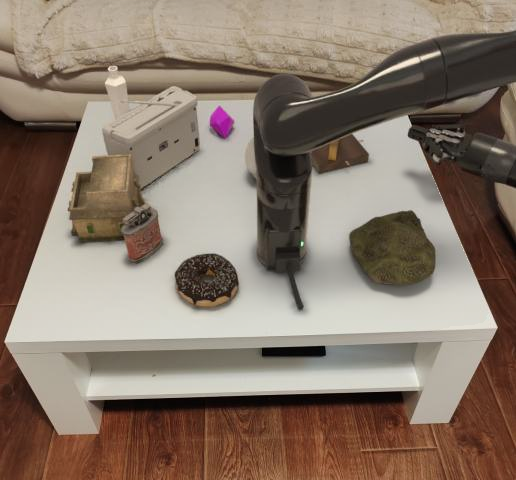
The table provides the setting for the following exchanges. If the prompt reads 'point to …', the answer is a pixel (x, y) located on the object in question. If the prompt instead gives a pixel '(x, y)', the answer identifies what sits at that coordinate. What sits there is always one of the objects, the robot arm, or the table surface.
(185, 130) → the radio
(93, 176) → the miniature house
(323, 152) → the panel
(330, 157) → the tan wooden flat block
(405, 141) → the table surface
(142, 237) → the lighter
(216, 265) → the donut
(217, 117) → the crystal
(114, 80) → the perfume bottle
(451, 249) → the table surface
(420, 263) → the decorative rock
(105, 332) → the table surface
